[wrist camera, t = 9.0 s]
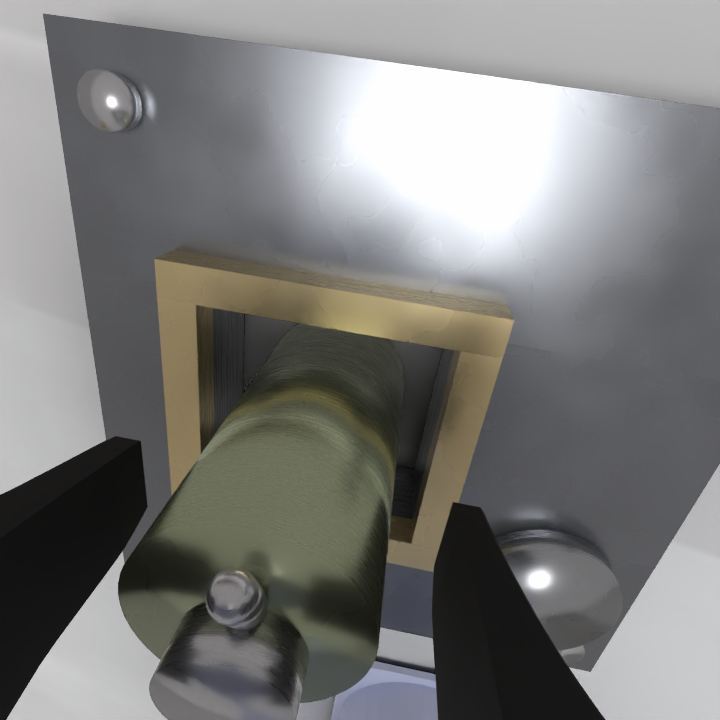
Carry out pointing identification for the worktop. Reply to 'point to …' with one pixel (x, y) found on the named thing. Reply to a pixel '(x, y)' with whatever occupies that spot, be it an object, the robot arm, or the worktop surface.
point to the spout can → (276, 538)
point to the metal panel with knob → (413, 286)
